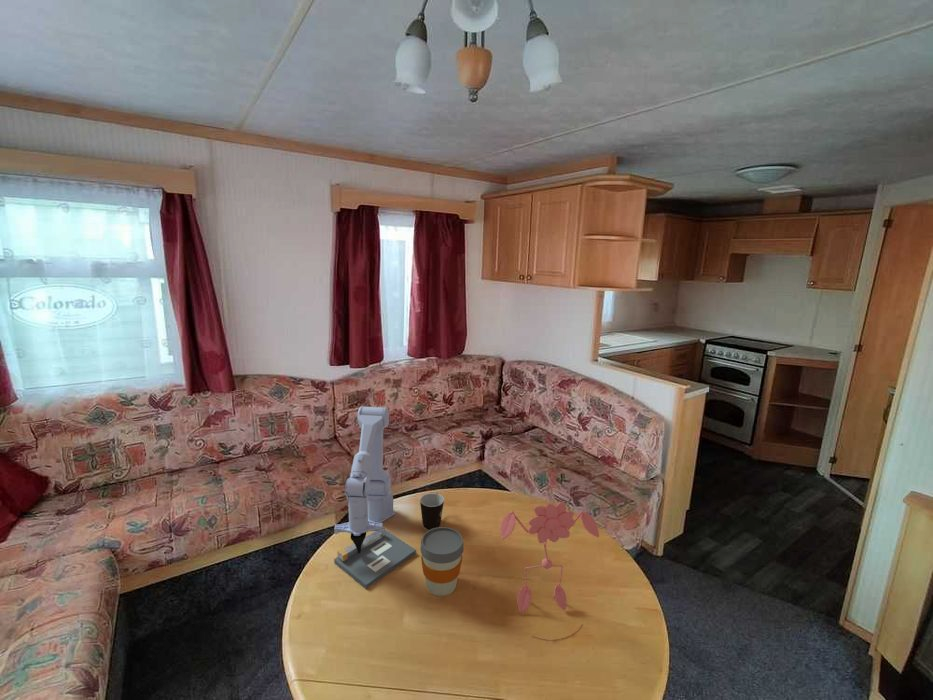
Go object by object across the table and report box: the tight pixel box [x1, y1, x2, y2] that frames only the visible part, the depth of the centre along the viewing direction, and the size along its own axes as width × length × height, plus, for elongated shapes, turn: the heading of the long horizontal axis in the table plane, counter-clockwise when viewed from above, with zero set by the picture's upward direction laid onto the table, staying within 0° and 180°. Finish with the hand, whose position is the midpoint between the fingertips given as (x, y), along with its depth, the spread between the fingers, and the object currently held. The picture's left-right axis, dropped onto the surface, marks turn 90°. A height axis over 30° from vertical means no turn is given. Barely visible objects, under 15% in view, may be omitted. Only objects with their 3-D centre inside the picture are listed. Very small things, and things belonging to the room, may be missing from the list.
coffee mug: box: [419, 492, 445, 531], centre depth 152 cm, size 12×9×10 cm
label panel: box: [333, 527, 417, 590], centre depth 133 cm, size 20×16×4 cm
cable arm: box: [337, 531, 382, 561], centre depth 135 cm, size 15×3×2 cm, turn 138°
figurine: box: [499, 501, 600, 643], centre depth 110 cm, size 15×26×35 cm, turn 93°
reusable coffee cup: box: [420, 526, 465, 597], centre depth 123 cm, size 13×13×15 cm
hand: (359, 551), depth 132 cm, fingers closed, pressing on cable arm
